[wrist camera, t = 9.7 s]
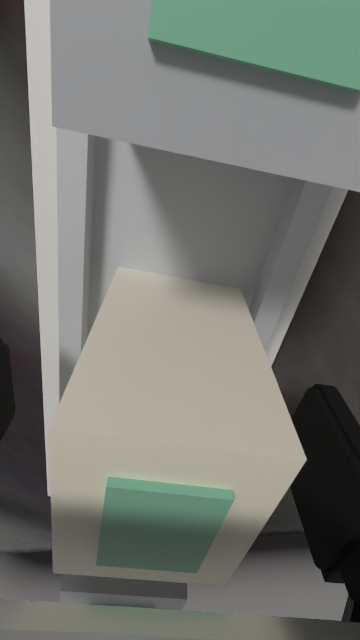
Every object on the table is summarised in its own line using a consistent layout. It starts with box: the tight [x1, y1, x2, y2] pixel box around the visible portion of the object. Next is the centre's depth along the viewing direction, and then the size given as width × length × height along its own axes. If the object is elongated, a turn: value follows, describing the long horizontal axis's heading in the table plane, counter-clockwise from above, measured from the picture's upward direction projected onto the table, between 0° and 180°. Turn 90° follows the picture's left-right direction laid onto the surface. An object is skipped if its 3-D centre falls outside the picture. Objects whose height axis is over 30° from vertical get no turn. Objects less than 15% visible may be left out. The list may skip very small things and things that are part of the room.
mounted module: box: [60, 574, 187, 610], centre depth 15 cm, size 4×6×6 cm
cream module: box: [49, 267, 307, 586], centre depth 10 cm, size 4×6×7 cm
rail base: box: [24, 0, 348, 496], centre depth 13 cm, size 10×26×3 cm, turn 169°
